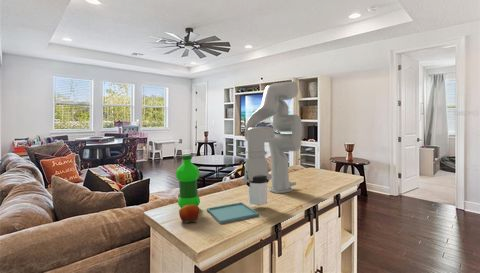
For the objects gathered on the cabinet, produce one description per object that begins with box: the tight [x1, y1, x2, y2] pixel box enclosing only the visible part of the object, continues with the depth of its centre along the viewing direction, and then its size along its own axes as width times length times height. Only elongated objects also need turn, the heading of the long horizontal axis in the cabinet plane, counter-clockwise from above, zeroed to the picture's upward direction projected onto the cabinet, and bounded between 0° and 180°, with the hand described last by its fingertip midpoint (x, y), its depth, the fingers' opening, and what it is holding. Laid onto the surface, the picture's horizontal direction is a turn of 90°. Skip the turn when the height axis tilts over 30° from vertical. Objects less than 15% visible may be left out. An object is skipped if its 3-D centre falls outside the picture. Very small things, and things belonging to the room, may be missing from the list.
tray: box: [206, 202, 260, 225], centre depth 111 cm, size 17×17×1 cm
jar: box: [248, 176, 268, 206], centre depth 116 cm, size 9×8×12 cm
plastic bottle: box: [175, 154, 201, 209], centre depth 117 cm, size 10×10×25 cm
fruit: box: [178, 204, 201, 225], centre depth 104 cm, size 8×8×8 cm
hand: (257, 194), depth 116 cm, fingers closed on jar, 4 cm apart
